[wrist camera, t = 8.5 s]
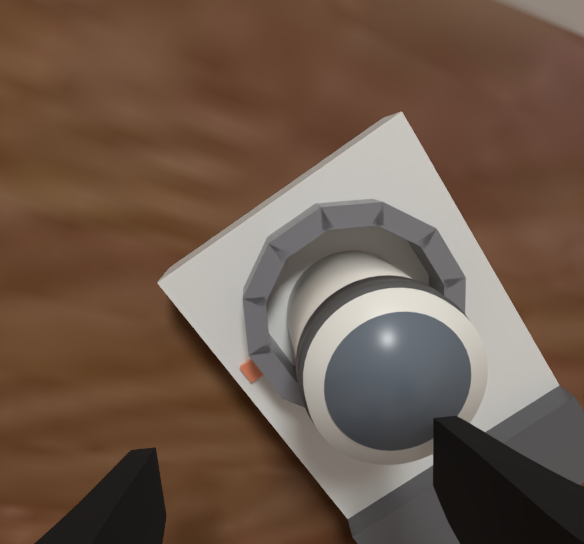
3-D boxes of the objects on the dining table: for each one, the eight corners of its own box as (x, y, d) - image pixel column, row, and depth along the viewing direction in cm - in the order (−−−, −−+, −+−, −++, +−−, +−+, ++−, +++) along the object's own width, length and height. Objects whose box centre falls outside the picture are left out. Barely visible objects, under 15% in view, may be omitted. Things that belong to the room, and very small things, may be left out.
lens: (412, 242, 17) (496, 280, 12) (413, 366, 19) (489, 457, 13) (279, 254, 17) (294, 299, 11) (289, 379, 18) (308, 480, 12)
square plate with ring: (564, 426, 23) (627, 480, 19) (383, 539, 24) (408, 612, 20) (382, 118, 19) (416, 106, 15) (169, 267, 19) (148, 293, 16)
